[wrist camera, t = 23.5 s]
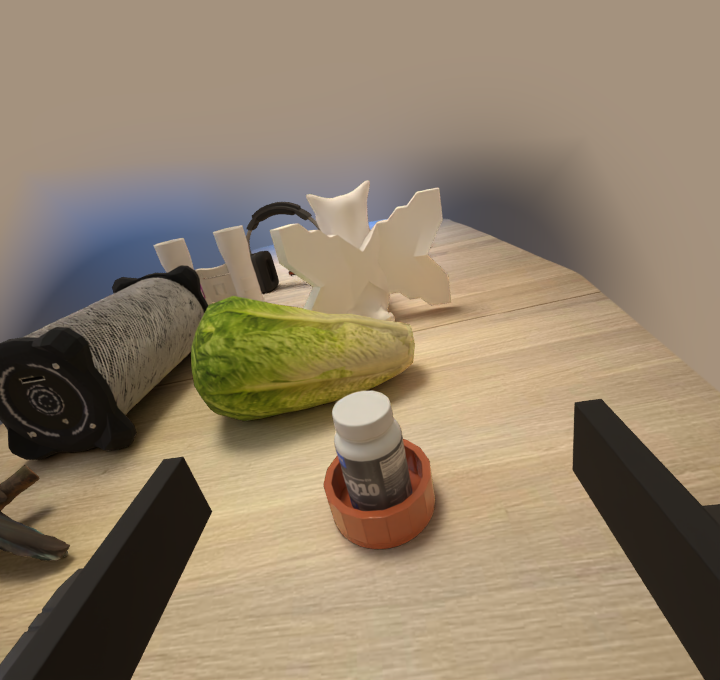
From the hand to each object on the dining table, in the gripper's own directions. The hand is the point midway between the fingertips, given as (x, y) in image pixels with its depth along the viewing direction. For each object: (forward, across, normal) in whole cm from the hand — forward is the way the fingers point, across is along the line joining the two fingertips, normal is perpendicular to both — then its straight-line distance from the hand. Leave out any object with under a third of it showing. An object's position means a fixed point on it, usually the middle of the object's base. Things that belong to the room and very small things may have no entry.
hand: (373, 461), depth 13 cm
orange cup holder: (+11, -2, -14) cm, 18 cm away
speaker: (+35, -37, -14) cm, 53 cm away
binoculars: (+60, -34, -14) cm, 70 cm away
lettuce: (+28, -10, -14) cm, 33 cm away
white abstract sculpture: (+50, -5, -14) cm, 52 cm away
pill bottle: (+11, -2, -14) cm, 18 cm away
